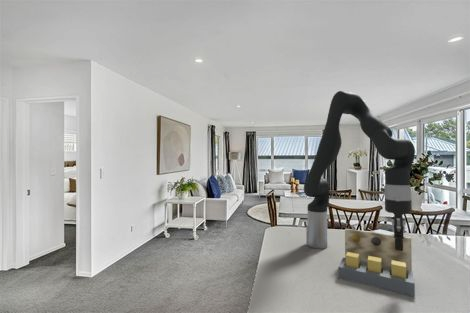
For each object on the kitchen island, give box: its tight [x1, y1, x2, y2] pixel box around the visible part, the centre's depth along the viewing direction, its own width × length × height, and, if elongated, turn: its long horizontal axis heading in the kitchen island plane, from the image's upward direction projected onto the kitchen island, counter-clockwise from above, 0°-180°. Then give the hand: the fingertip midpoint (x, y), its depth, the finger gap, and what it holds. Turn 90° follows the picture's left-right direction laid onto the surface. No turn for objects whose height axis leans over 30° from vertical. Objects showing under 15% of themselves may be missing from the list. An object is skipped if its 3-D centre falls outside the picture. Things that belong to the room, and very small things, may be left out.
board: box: [337, 257, 416, 297], centre depth 86 cm, size 22×10×4 cm, turn 57°
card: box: [344, 228, 413, 271], centre depth 95 cm, size 22×4×14 cm, turn 57°
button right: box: [391, 260, 406, 278], centre depth 82 cm, size 4×4×5 cm
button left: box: [346, 252, 359, 268], centre depth 89 cm, size 4×4×5 cm
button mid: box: [368, 256, 382, 273], centre depth 86 cm, size 4×4×5 cm
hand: (399, 250), depth 82 cm, fingers closed
